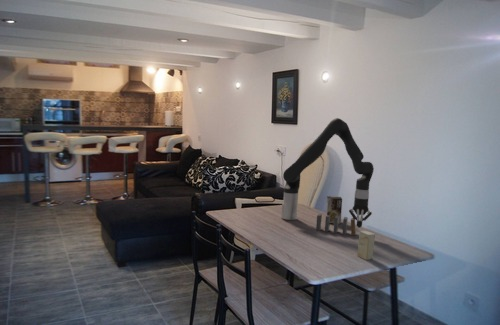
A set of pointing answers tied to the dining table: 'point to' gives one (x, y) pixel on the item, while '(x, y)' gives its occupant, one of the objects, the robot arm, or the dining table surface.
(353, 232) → the domino
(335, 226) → the domino
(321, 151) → the robot arm
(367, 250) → the skincare box
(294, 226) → the dining table surface
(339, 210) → the coffee box
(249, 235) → the dining table surface
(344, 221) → the domino
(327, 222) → the domino
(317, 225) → the domino
